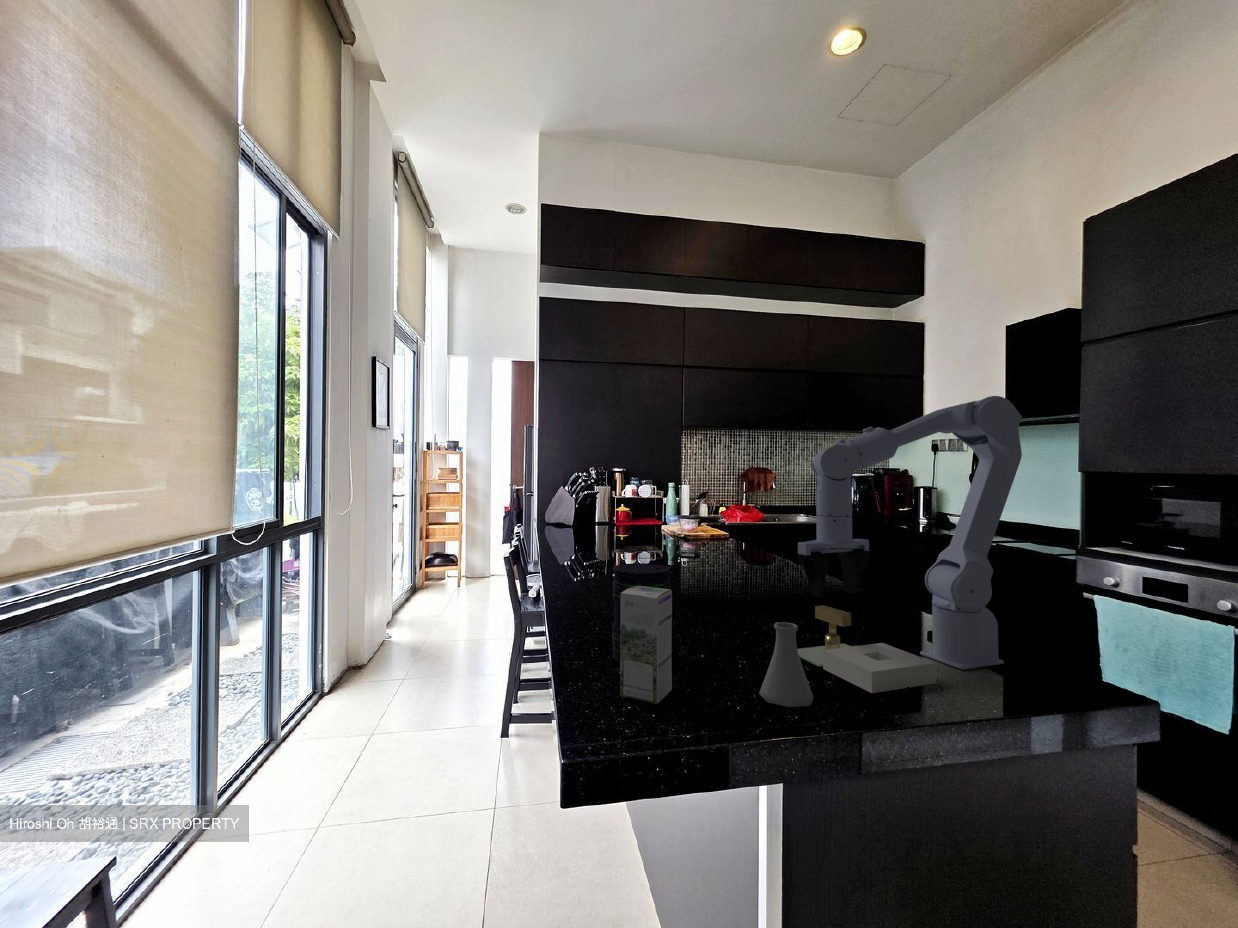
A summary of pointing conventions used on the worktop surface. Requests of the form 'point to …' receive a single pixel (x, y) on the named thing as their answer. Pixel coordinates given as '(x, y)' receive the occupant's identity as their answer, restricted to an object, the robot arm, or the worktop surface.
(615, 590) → the storage jar
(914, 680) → the block
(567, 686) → the worktop surface
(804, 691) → the flask
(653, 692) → the syrup box
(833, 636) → the t key
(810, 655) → the mat
